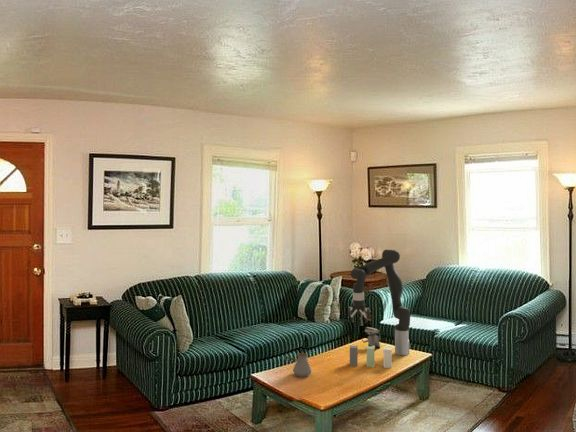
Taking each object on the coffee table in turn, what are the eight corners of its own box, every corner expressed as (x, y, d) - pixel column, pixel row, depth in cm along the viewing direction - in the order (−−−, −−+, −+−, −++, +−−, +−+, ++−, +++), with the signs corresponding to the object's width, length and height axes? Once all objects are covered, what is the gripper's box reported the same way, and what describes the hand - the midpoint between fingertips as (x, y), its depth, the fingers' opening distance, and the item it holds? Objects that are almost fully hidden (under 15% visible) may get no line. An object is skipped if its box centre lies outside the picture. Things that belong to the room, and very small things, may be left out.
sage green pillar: (366, 364, 334) (366, 346, 334) (374, 364, 333) (374, 346, 333) (366, 366, 329) (366, 348, 329) (374, 367, 328) (374, 348, 328)
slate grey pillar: (349, 363, 336) (350, 345, 335) (357, 363, 335) (357, 345, 334) (349, 365, 331) (349, 347, 330) (357, 366, 330) (357, 348, 330)
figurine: (370, 345, 376) (370, 325, 376) (381, 349, 367) (381, 328, 366) (361, 347, 371) (361, 327, 370) (373, 351, 362) (373, 330, 361)
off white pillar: (383, 365, 332) (383, 347, 332) (391, 365, 332) (391, 347, 331) (383, 367, 327) (383, 349, 327) (391, 368, 327) (391, 349, 326)
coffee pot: (300, 370, 322) (300, 347, 321) (315, 374, 314) (315, 350, 313) (278, 379, 305) (278, 355, 305) (293, 384, 298) (293, 359, 297)
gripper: (370, 298, 336) (370, 322, 337) (349, 297, 341) (349, 320, 341) (368, 300, 329) (368, 325, 330) (346, 299, 333) (347, 323, 334)
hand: (359, 322), depth 336 cm, fingers open, 8 cm apart
